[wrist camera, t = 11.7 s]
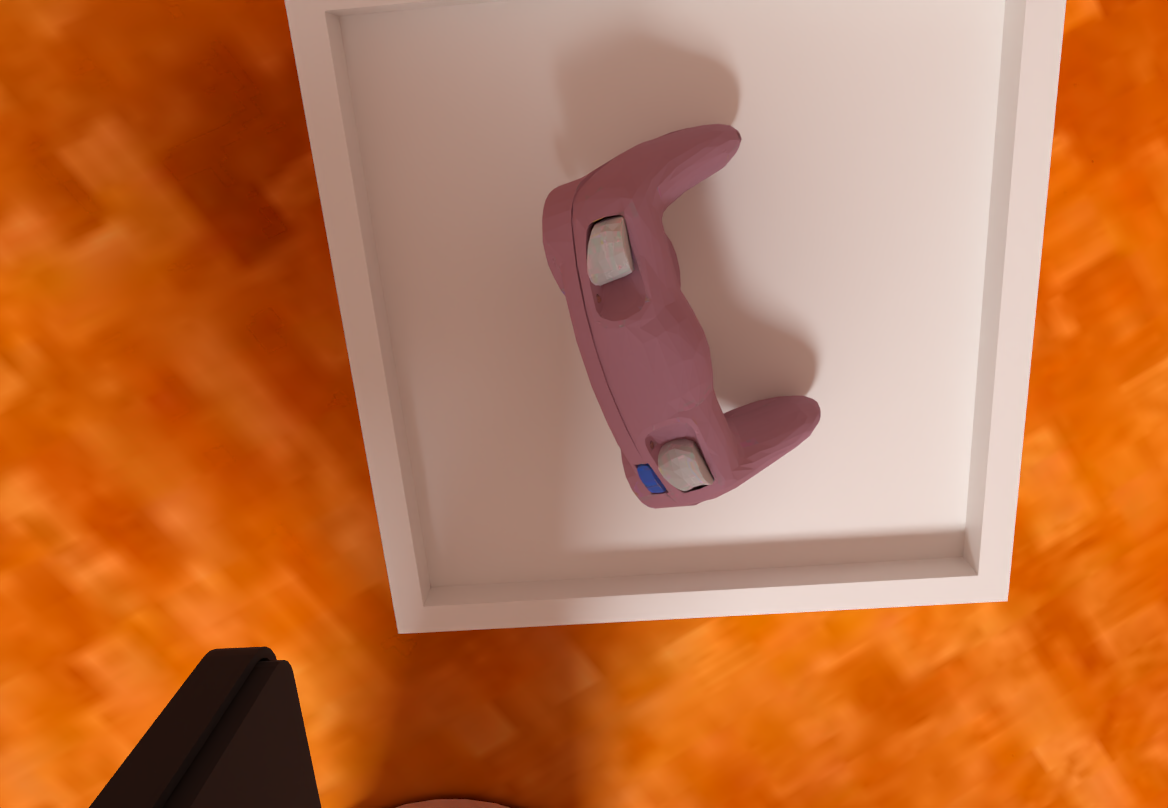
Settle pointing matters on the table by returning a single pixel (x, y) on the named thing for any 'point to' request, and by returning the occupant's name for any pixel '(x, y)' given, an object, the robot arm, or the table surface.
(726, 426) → the video game controller
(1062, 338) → the table surface
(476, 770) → the table surface
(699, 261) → the tray
